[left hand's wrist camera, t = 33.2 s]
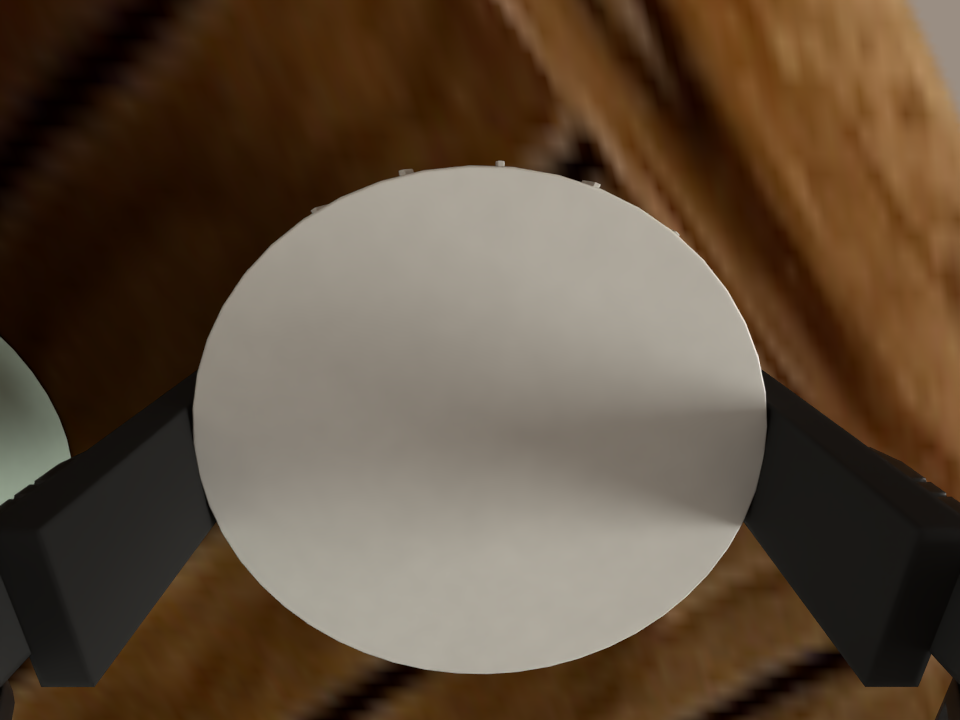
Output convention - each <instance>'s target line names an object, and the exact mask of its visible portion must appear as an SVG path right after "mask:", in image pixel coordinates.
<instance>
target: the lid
mask: <svg viewBox="0 0 960 720" xmlns="http://www.w3.org/2000/svg"><path fill="white" fill-rule="evenodd" d="M399 175H400V176H399V177H395V178H391V179H387V180H383V181H379V182H377V183H375V184H372V185H370V186H367V187H365V188H362V189H360V190H357V191H355V192H352V193H350V194H347V195H345V196H342V197H340V198H338V199H337V200H335V201H333V202H331V203H330V204H327V205H324V206H320V207H316V208H314V209H312V210H311V212H312V214H311V215H309V216H307V217H306V218H304V219H303V220H301V221H300V222H299V223H298V224H296V225H295V226H294V227H293V228H291V229H290V230H289V231H288V232H286V233H285V234H284V235H283V236H281V237H280V238H279V239H278V240H276V241H275V242H274V243H273V244H271V245H270V247H269V248H268V249H267V250H266V251H265V252H264V253H263V254H262V255H261V256H260V257H259V258H258V260H257V261H256V262H255V263H254V264H253V265H252V266H251V267H250V268H249V269H248V270H247V271H246V273H245V274H244V275H243V277H242V278H241V279H240V281H239V282H238V284H237V285H236V287H235V288H234V290H233V291H232V293H231V294H230V296H229V297H228V299H227V300H226V302H225V303H224V305H223V306H222V309H221V311H220V313H219V315H218V317H217V319H216V321H215V323H214V326H213V328H212V330H211V332H210V334H209V336H208V338H207V341H206V345H205V348H204V352H203V355H202V359H201V362H200V365H199V369H198V372H197V378H196V386H195V394H194V401H193V443H194V449H195V455H196V460H197V465H198V469H199V474H200V479H201V483H202V486H203V489H204V492H205V495H206V498H207V501H208V504H209V507H210V509H211V511H212V513H213V515H214V517H215V519H216V521H217V523H218V525H219V527H220V529H221V531H222V533H223V535H224V537H225V538H226V540H227V541H228V543H229V544H230V546H231V547H232V549H233V550H234V552H235V553H236V555H237V556H238V558H239V559H240V561H241V562H242V563H243V564H244V566H245V567H246V568H247V569H248V570H249V572H250V573H251V574H252V575H253V576H254V577H255V579H256V580H257V581H258V582H259V583H260V584H261V585H262V586H263V587H264V588H265V589H266V590H267V591H268V592H269V593H270V594H271V595H272V596H274V597H275V598H276V599H277V600H278V601H279V602H280V603H281V604H282V605H283V606H284V607H286V608H287V609H289V610H290V611H291V612H293V613H294V614H295V615H297V616H298V617H300V618H301V619H302V620H304V621H305V622H306V623H308V624H309V625H311V626H313V627H314V628H316V629H318V630H319V631H321V632H323V633H325V634H326V635H328V636H330V637H332V638H333V639H335V640H337V641H339V642H341V643H344V644H346V645H348V646H350V647H353V648H355V649H357V650H360V651H362V652H364V653H367V654H370V655H373V656H376V657H379V658H382V659H385V660H388V661H391V662H394V663H399V664H403V665H408V666H412V667H417V668H421V669H426V670H434V671H443V672H451V673H471V674H493V673H507V672H519V671H525V670H531V669H537V668H543V667H549V666H553V665H556V664H560V663H564V662H567V661H571V660H575V659H578V658H581V657H584V656H586V655H589V654H592V653H594V652H597V651H599V650H602V649H605V648H607V647H610V646H612V645H614V644H615V643H617V642H619V641H621V640H623V639H625V638H627V637H629V636H631V635H633V634H635V633H637V632H639V631H640V630H642V629H643V628H645V627H646V626H648V625H649V624H651V623H652V622H654V621H656V620H657V619H659V618H660V617H662V616H663V615H664V614H666V613H667V612H668V611H669V610H670V609H672V608H673V607H674V606H675V605H677V604H678V603H679V602H680V601H681V600H683V599H684V598H685V597H686V596H687V595H688V594H689V593H690V592H691V591H692V590H693V589H694V588H695V587H696V586H697V585H698V584H699V583H700V582H701V581H702V580H703V579H704V578H705V577H706V576H707V575H708V574H709V573H710V571H711V570H712V569H713V567H714V566H715V565H716V563H717V562H718V561H719V559H720V558H721V557H722V555H723V554H724V553H725V551H726V550H727V549H728V547H729V545H730V544H731V542H732V540H733V538H734V537H735V535H736V533H737V531H738V530H739V528H740V526H741V525H742V523H743V521H744V519H745V516H746V514H747V511H748V509H749V506H750V504H751V502H752V499H753V497H754V494H755V492H756V488H757V484H758V479H759V475H760V470H761V466H762V461H763V456H764V451H765V443H766V433H767V411H766V392H765V387H764V382H763V377H762V372H761V367H760V362H759V357H758V355H757V352H756V349H755V346H754V344H753V341H752V338H751V336H750V333H749V330H748V328H747V325H746V323H745V321H744V319H743V317H742V315H741V314H740V312H739V310H738V308H737V306H736V305H735V303H734V301H733V299H732V298H731V296H730V294H729V292H728V290H727V289H726V288H725V287H724V285H723V284H722V283H721V281H720V280H719V279H718V278H717V276H716V275H715V274H714V273H713V271H712V270H711V269H710V267H709V266H708V265H707V264H706V262H705V261H704V260H703V259H702V258H701V257H700V256H699V255H698V254H697V253H696V252H695V251H694V250H693V249H692V248H690V247H689V246H688V245H687V244H686V243H685V242H684V241H683V240H682V239H681V238H680V237H679V233H677V232H676V231H674V230H671V229H669V228H667V227H666V226H665V225H663V224H662V223H660V222H659V221H657V220H656V219H655V218H653V217H652V216H650V215H649V214H647V213H646V212H644V211H643V210H642V209H640V208H638V207H636V206H634V205H632V204H630V203H628V202H626V201H624V200H622V199H620V198H618V197H616V196H614V195H612V194H610V193H608V192H606V191H604V190H602V189H600V188H599V187H600V184H598V183H596V182H590V181H584V180H583V181H582V183H581V182H578V181H575V180H572V179H569V178H566V177H563V176H560V175H555V174H550V173H544V172H539V171H533V170H527V169H522V168H516V167H504V161H496V166H474V165H470V166H460V167H450V168H440V169H431V170H423V171H419V172H415V173H414V172H413V169H404V170H400V171H399Z"/></svg>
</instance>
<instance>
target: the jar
mask: <svg viewBox="0 0 960 720" xmlns="http://www.w3.org/2000/svg"><path fill="white" fill-rule="evenodd" d="M70 458H71V456H70V451H69V446H68V442H67V438H66V435H65V433H64V430H63V427H62V424H61V422H60V419H59V417H58V415H57V413H56V411H55V409H54V407H53V405H52V403H51V401H50V399H49V397H48V395H47V394H46V392H45V391H44V389H43V388H42V386H41V385H40V383H39V382H38V380H37V379H36V377H35V376H34V374H33V373H32V371H31V370H30V369H29V368H28V366H27V365H26V364H25V363H24V362H23V360H22V359H21V358H20V357H19V356H18V354H17V353H16V352H15V351H14V350H13V349H12V348H11V347H10V346H9V345H8V344H7V343H6V342H5V341H4V340H3V339H2V338H1V337H0V505H1V504H3V503H4V502H5V501H7V500H8V499H14V495H15V494H17V493H18V492H19V491H21V490H22V489H24V488H25V487H27V486H28V485H29V484H34V483H35V482H34V481H35V480H36V479H38V478H39V477H41V476H42V475H43V474H45V473H46V472H48V471H49V470H50V469H52V468H53V467H55V466H56V465H57V464H59V463H61V462H63V461H66V460H68V459H70Z"/></svg>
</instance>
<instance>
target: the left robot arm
mask: <svg viewBox="0 0 960 720" xmlns="http://www.w3.org/2000/svg"><path fill="white" fill-rule="evenodd" d="M197 372H198V370H197V371H195V372H194V373H193V374H191V375H190V376H188V377H187V378H186V379H184V380H183V381H182V382H180V383H179V384H177V385H176V386H175V387H173V388H172V389H171V390H169V391H168V392H166V393H165V394H164V395H162V396H161V397H160V398H158V399H157V400H155V401H154V402H153V403H151V404H150V405H149V406H147V407H146V408H144V409H143V410H142V411H140V412H139V413H138V414H136V415H135V416H133V417H132V418H131V419H129V420H128V421H127V422H125V423H124V424H122V425H121V426H120V427H118V428H117V429H116V430H114V431H113V432H111V433H110V434H109V435H107V436H106V437H105V438H103V439H102V440H101V441H99V442H98V443H96V444H95V445H94V446H92V447H91V448H90V449H88V450H87V451H85V452H83V453H81V454H79V455H76V456H74V457H72V458H70V459H68V460H66V461H63V462H61V463H59V464H57V465H56V466H55V467H53V468H52V469H50V470H49V471H48V472H46V473H45V474H43V475H42V476H41V477H39V478H38V479H36V480H35V481H34V482H35V483H34V484H29V485H28V486H27V487H25V488H24V489H22V490H21V491H19V492H18V493H17V494H15V495H14V499H8V500H7V501H5V502H4V503H3V504H1V505H0V720H12V715H13V710H14V704H15V701H14V695H13V690H12V688H11V686H10V683H9V681H8V679H9V678H10V676H11V675H12V674H13V673H14V672H15V671H16V670H17V669H18V668H19V667H20V665H21V664H22V663H23V662H24V661H25V660H26V659H27V658H28V657H30V660H31V662H32V665H33V667H34V670H35V672H36V675H37V677H38V680H39V682H40V685H41V687H95V685H96V684H97V683H98V681H99V680H100V678H101V677H102V676H103V674H104V673H105V672H106V670H107V669H108V668H109V666H110V665H111V664H112V662H113V661H114V659H115V658H116V657H117V655H118V654H119V653H120V651H121V650H122V649H123V647H124V646H125V645H126V643H127V642H128V640H129V639H130V638H131V636H132V635H133V634H134V632H135V631H136V630H137V628H138V627H139V626H140V624H141V623H142V621H143V620H144V619H145V617H146V616H147V615H148V613H149V612H150V611H151V609H152V608H153V607H154V605H155V604H156V603H157V601H158V600H159V598H160V597H161V596H162V594H163V593H164V592H165V590H166V589H167V588H168V586H169V585H170V584H171V582H172V581H173V579H174V578H175V577H176V575H177V574H178V573H179V571H180V570H181V569H182V567H183V566H184V565H185V563H186V562H187V560H188V559H189V558H190V556H191V555H192V554H193V552H194V551H195V550H196V548H197V547H198V546H199V544H200V543H201V541H202V540H203V539H204V537H205V536H206V535H207V533H208V532H209V531H210V529H211V528H212V527H213V525H214V524H215V523H216V519H215V517H214V515H213V513H212V511H211V509H210V507H209V504H208V501H207V498H206V495H205V492H204V489H203V486H202V483H201V479H200V474H199V469H198V465H197V460H196V455H195V449H194V443H193V401H194V394H195V386H196V378H197ZM761 372H762V377H763V382H764V387H765V392H766V411H767V433H766V443H765V451H764V456H763V461H762V466H761V470H760V475H759V479H758V484H757V488H756V492H755V494H754V497H753V499H752V502H751V504H750V506H749V509H748V511H747V514H746V516H745V519H744V521H743V522H744V523H745V524H746V526H747V527H748V528H749V530H750V531H751V532H752V534H753V535H754V537H755V538H756V539H757V541H758V542H759V543H760V545H761V546H762V547H763V549H764V550H765V551H766V553H767V554H768V556H769V557H770V558H771V560H772V561H773V562H774V564H775V565H776V566H777V568H778V569H779V570H780V572H781V573H782V575H783V576H784V577H785V579H786V580H787V581H788V583H789V584H790V585H791V587H792V588H793V589H794V591H795V592H796V594H797V595H798V596H799V598H800V599H801V600H802V602H803V603H804V604H805V606H806V607H807V608H808V610H809V611H810V613H811V614H812V615H813V617H814V618H815V619H816V621H817V622H818V623H819V625H820V626H821V627H822V629H823V630H824V631H825V633H826V634H827V636H828V637H829V638H830V640H831V641H832V642H833V644H834V645H835V646H836V648H837V649H838V650H839V652H840V653H841V655H842V656H843V657H844V659H845V660H846V661H847V663H848V664H849V665H850V667H851V668H852V669H853V671H854V672H855V674H856V675H857V676H858V678H859V679H860V680H861V682H862V683H863V684H864V686H865V687H918V686H919V683H920V681H921V678H922V676H923V673H924V671H925V668H926V666H927V663H928V661H929V658H930V656H931V654H932V655H933V656H934V657H935V658H936V659H937V661H938V662H939V663H940V664H941V665H942V666H943V667H944V668H945V669H946V670H947V671H948V673H949V674H950V675H951V676H952V677H953V679H952V681H951V683H950V686H949V688H948V690H947V693H946V695H945V698H944V700H943V702H942V705H941V707H940V709H939V712H938V714H937V716H936V719H935V720H960V503H959V502H958V501H957V500H955V499H954V498H952V497H947V496H946V493H945V492H944V491H942V490H941V489H940V488H938V487H937V486H935V485H934V484H933V483H931V482H926V479H925V478H924V477H923V476H921V475H920V474H918V473H917V472H916V471H914V470H913V469H911V468H910V467H908V466H907V465H906V464H904V463H903V462H901V461H899V460H897V459H895V458H892V457H890V456H888V455H886V454H884V453H882V452H879V451H877V450H875V449H873V448H871V447H867V446H866V445H865V444H863V443H862V442H860V441H859V440H858V439H856V438H855V437H854V436H852V435H851V434H849V433H848V432H847V431H845V430H844V429H843V428H841V427H840V426H838V425H837V424H836V423H834V422H833V421H832V420H830V419H829V418H828V417H826V416H825V415H823V414H822V413H821V412H819V411H818V410H817V409H815V408H814V407H812V406H811V405H810V404H808V403H807V402H806V401H804V400H803V399H801V398H800V397H799V396H797V395H796V394H795V393H793V392H792V391H790V390H789V389H788V388H786V387H785V386H784V385H782V384H781V383H779V382H778V381H777V380H775V379H774V378H773V377H771V376H770V375H768V374H767V373H766V372H764V371H763V370H762V369H761Z"/></svg>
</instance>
